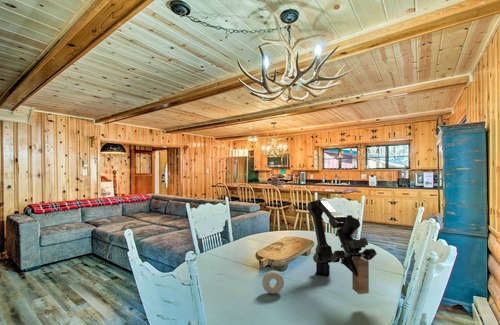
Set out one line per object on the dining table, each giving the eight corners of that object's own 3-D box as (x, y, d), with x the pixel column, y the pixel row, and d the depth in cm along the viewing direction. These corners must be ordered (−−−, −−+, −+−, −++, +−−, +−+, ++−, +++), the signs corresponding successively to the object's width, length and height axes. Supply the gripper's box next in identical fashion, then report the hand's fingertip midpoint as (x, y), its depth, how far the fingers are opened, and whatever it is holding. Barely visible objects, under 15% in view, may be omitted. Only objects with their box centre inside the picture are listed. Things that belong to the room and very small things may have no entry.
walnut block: (352, 289, 102) (352, 257, 103) (361, 288, 103) (361, 256, 104) (358, 294, 98) (358, 261, 98) (368, 293, 99) (368, 260, 99)
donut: (283, 291, 113) (283, 269, 114) (284, 295, 110) (284, 272, 110) (261, 291, 113) (261, 269, 113) (262, 295, 109) (262, 272, 110)
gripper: (334, 231, 103) (349, 268, 92) (373, 229, 107) (393, 265, 96) (325, 244, 111) (338, 280, 100) (362, 242, 114) (379, 276, 103)
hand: (362, 275), depth 100 cm, fingers closed on walnut block, 4 cm apart
